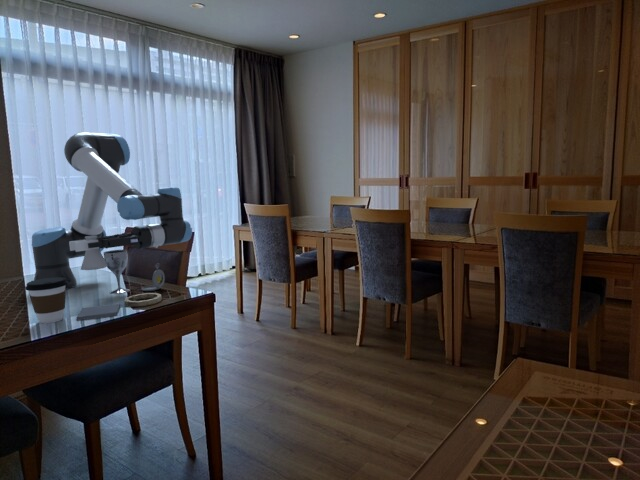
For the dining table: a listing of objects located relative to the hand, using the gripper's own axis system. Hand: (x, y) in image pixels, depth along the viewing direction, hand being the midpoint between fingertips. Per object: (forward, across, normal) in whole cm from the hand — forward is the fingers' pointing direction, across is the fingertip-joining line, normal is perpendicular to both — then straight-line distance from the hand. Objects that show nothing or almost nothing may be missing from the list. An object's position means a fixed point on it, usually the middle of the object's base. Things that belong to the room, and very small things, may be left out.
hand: (73, 246), depth 139 cm
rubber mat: (-5, 0, -22) cm, 22 cm away
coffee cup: (+7, +5, -22) cm, 23 cm away
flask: (-5, 0, -8) cm, 10 cm away
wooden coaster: (-20, +1, -22) cm, 30 cm away
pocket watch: (-31, +14, -22) cm, 41 cm away
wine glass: (-23, +23, -22) cm, 39 cm away
